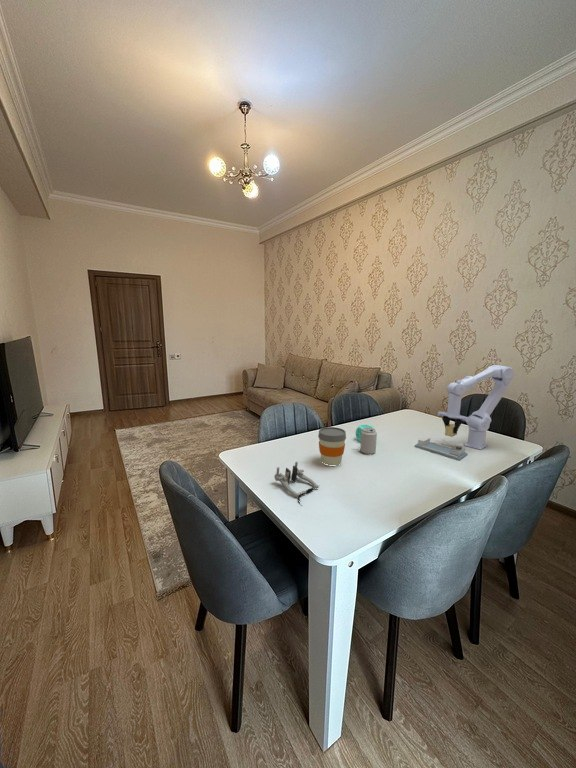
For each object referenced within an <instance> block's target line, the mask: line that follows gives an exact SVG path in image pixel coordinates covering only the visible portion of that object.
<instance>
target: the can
mask: <svg viewBox="0 0 576 768" xmlns="http://www.w3.org/2000/svg"><path fill="white" fill-rule="evenodd" d="M377 433H378V432H377V431H376V428H375V427H374V428H368V427H367V428H363V430H362V431H361V442H360V448H359V450H360V451H361V452H362V454H365V453H366V454H365V455H373V454H374V453H376V451H377V450H376V449H377V435H378V434H377Z"/></svg>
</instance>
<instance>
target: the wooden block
mask: <svg viewBox="0 0 576 768" xmlns="http://www.w3.org/2000/svg"><path fill="white" fill-rule="evenodd" d="M444 428H445V427H444ZM454 429H455V423H454V424H453V423H449V425H447V426H446V428H445V431H444V436H447V437H451V438H453V437H455V436H456V435H458V432H457V433H454Z"/></svg>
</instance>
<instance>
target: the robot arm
mask: <svg viewBox="0 0 576 768" xmlns="http://www.w3.org/2000/svg"><path fill="white" fill-rule="evenodd" d="M514 377H515V372H514V369H513V368H512V367H511V366H505V365H498V364H493V365H491V366H488V367H487V368H486V369H484V370H483V371H481V372H480V373H477V374H476V375H472V376H471V375H466V376H465V377H464V378H462V379H459V380H457V381H456V382H453V381H452V382H451V383H449V384H448V386H447V387H446V391H447V393H448V394H447V395H448V397H447V398H448V400H447V410H446V411H441V410H439V411H437V416H439V417H442V418H441V420H442V422H443V425H444V428H446V426H447V425H449V424H451V420H452V419H454V421H453V423H454V424H455V429H454V433H457V434H458V431H459V429H460V427H461V425H462V424H463V422H466V425H468V435H467V442H465V443H464V444H463V445H464V447H465V446H466V447H470V448H472V449H476V450H480V451H481V450H483V449H484V448H485V447H487V446H488V444H486V440H487V439H486V438H487V430H489V428H490V424H491V423H492V417H491V414H492V413H493V411H494V410H495V408H496V407H497V406H498V404H499V402H500V401H501V399H502V398H503V396H504V395H505V394H506V391H508V389H509V387H510V385H511V381H512V380H513V378H514ZM489 378H491V379H492V380H493V382H494V386H493V388H492V389H491V391H490V392H489V393H488V395H487V397H486V398H485V400H484V402H483V403H482V404H481V406H480V408H479V409H478V410H476V411H473V412H471V413H472V414H470V415H469V416H464V415H461V407H462V406H461V405H462V404H461V403H462V397H463V395H464V394H465V393H466V392H467V391H468V390H471V389H472V388H474V387H476V386H477V385H478V383H480V382H482V381H484V380H485V381H486V380H487V379H489Z"/></svg>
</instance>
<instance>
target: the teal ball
mask: <svg viewBox="0 0 576 768" xmlns="http://www.w3.org/2000/svg"><path fill="white" fill-rule="evenodd" d="M367 427H368V428H374V429H375V427H374V426H373V425H370V424H360V425H359V426H357V428H356V430H355V438H356V439H357V440H358V442H359V441H360V442H359V443H361V431H362V430H363V428H367Z"/></svg>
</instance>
